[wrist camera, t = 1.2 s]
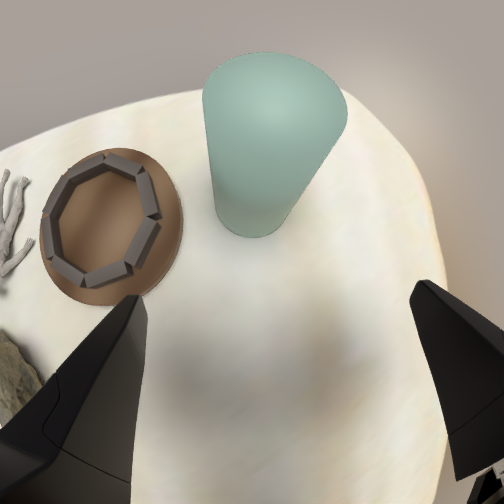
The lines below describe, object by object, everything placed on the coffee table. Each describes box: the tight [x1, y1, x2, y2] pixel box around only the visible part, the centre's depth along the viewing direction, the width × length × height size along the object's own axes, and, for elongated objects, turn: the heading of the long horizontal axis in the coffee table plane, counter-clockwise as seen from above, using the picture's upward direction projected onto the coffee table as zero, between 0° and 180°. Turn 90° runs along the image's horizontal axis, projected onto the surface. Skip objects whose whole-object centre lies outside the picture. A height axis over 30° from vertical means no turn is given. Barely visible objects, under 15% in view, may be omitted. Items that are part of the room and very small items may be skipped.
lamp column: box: [202, 52, 348, 238], centre depth 16 cm, size 6×6×13 cm
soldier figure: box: [0, 169, 34, 277], centre depth 19 cm, size 8×5×12 cm
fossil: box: [0, 331, 42, 427], centre depth 14 cm, size 14×10×10 cm
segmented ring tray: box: [39, 148, 183, 306], centre depth 20 cm, size 13×13×4 cm
